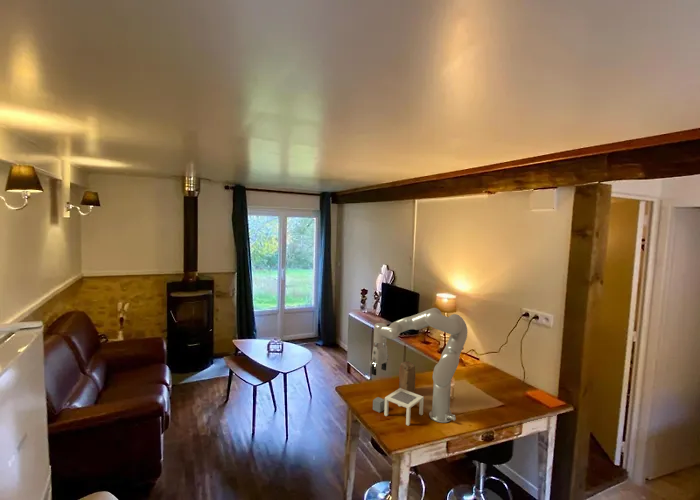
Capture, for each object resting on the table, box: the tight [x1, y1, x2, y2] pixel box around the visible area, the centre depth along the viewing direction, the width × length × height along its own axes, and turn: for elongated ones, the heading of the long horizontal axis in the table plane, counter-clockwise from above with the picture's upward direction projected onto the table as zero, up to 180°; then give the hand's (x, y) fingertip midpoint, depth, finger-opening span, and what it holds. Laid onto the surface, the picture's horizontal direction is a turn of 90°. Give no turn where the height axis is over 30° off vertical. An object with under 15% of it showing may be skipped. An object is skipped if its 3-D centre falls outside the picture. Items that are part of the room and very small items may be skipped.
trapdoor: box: [392, 392, 417, 404], centre depth 213 cm, size 10×10×1 cm
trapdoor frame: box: [383, 387, 425, 426], centre depth 213 cm, size 16×16×10 cm
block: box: [398, 361, 416, 393], centre depth 239 cm, size 11×8×20 cm
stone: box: [372, 396, 385, 413], centre depth 218 cm, size 5×5×6 cm
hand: (378, 372), depth 221 cm, fingers open, 9 cm apart
